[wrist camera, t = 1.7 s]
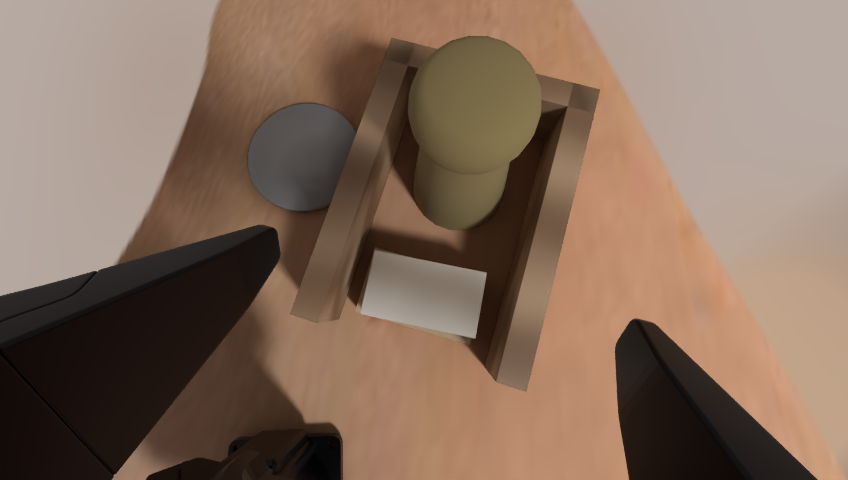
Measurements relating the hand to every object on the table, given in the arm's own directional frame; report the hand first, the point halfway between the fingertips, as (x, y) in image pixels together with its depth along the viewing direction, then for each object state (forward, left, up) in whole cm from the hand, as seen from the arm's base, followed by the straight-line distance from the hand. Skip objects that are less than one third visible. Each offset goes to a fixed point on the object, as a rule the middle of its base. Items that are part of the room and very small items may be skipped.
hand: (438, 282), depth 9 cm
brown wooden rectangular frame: (+5, -1, -13) cm, 14 cm away
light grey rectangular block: (0, +1, -13) cm, 13 cm away
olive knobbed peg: (+7, -2, -13) cm, 15 cm away
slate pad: (+10, +8, -13) cm, 18 cm away
